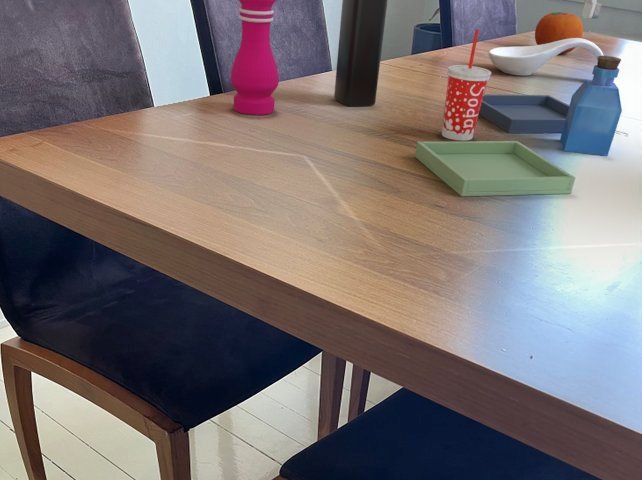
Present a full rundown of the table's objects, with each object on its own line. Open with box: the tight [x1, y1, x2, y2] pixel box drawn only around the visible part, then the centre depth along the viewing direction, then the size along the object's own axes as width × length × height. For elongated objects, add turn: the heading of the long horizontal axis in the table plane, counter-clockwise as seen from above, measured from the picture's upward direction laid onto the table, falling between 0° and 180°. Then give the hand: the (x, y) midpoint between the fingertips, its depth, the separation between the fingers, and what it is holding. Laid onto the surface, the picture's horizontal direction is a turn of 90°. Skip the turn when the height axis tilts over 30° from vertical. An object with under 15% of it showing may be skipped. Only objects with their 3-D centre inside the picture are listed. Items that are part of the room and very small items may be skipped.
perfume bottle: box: [560, 55, 623, 157], centre depth 105 cm, size 6×6×12 cm
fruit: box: [534, 11, 584, 54], centre depth 169 cm, size 11×10×8 cm
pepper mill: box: [230, 0, 280, 116], centre depth 106 cm, size 7×7×20 cm
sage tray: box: [414, 140, 576, 197], centre depth 95 cm, size 15×15×2 cm
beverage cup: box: [441, 28, 492, 141], centre depth 105 cm, size 6×6×14 cm
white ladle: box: [488, 38, 605, 77], centre depth 147 cm, size 24×12×7 cm, turn 78°
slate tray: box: [478, 94, 570, 134], centre depth 119 cm, size 15×15×2 cm
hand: (619, 20), depth 99 cm, fingers open, 8 cm apart
